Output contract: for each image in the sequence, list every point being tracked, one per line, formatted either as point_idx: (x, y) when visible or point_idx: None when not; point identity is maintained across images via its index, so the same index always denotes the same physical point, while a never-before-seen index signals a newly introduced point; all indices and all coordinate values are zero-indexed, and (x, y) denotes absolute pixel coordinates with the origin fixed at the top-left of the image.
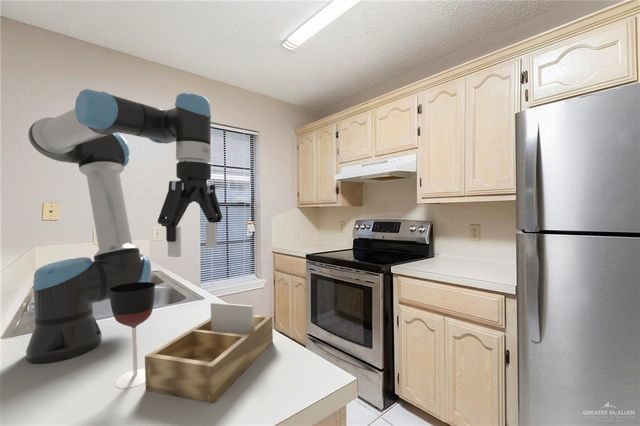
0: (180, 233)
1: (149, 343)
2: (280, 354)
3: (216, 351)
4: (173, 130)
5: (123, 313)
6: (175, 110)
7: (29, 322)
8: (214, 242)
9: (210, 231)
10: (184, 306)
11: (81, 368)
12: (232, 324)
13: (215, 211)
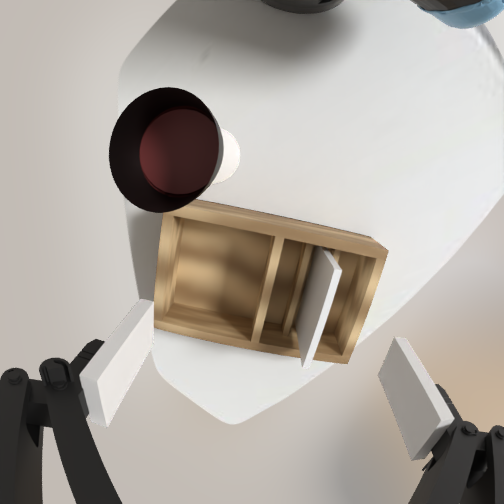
0: (117, 404)
1: (334, 99)
2: (293, 357)
3: (263, 277)
4: None
5: (137, 160)
6: None
7: None
8: (385, 387)
9: (409, 407)
10: (500, 93)
11: (234, 44)
12: (310, 305)
13: (470, 490)
